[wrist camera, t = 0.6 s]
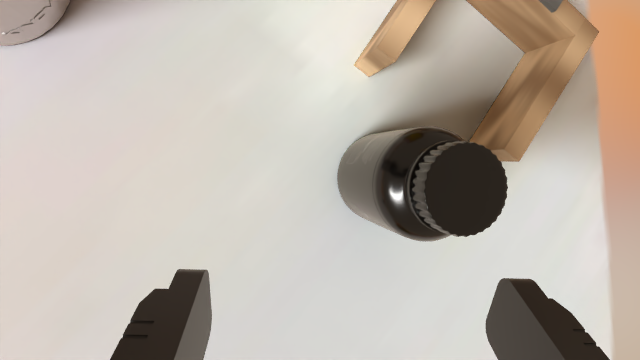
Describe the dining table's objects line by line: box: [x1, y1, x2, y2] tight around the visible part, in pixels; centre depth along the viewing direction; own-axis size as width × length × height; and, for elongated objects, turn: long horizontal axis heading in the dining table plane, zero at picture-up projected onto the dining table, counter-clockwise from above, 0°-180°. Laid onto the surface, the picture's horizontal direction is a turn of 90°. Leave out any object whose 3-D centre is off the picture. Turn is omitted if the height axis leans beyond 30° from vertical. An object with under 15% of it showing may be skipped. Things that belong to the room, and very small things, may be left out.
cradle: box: [354, 0, 599, 161], centre depth 29 cm, size 12×13×5 cm
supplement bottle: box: [337, 126, 508, 241], centre depth 25 cm, size 7×7×12 cm
